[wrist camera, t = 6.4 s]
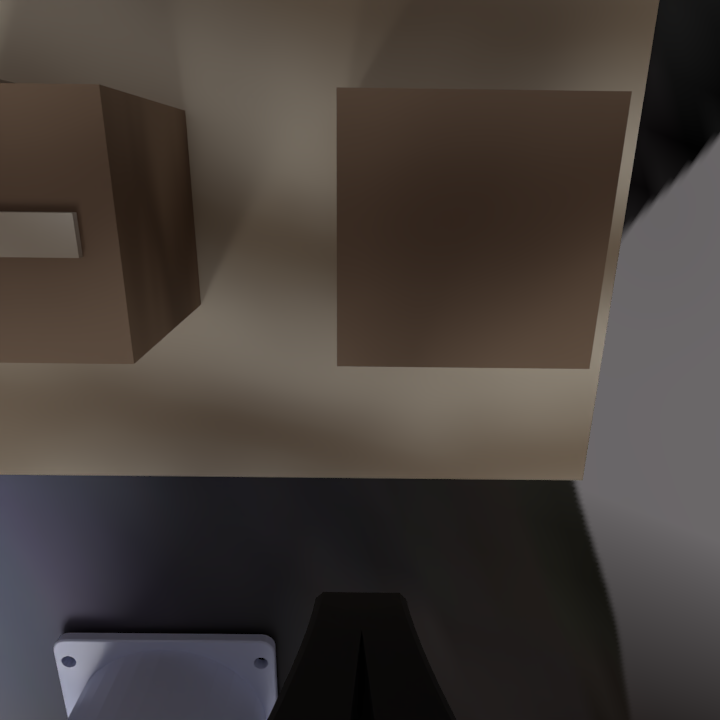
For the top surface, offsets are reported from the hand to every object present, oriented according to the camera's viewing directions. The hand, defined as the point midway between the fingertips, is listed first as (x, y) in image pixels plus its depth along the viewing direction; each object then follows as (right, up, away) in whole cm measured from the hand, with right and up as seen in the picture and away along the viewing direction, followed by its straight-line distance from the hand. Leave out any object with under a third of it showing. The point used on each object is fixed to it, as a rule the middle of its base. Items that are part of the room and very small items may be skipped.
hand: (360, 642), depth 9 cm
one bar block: (-7, +8, +6) cm, 12 cm away
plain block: (+2, +8, +6) cm, 11 cm away
